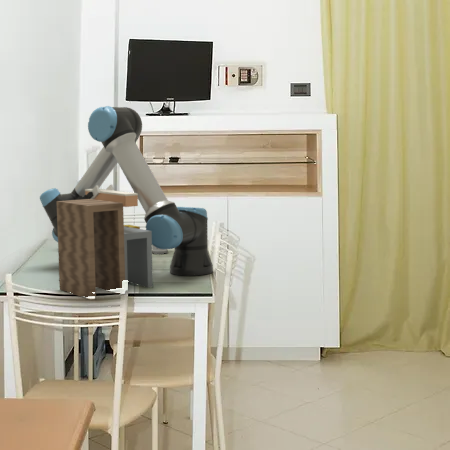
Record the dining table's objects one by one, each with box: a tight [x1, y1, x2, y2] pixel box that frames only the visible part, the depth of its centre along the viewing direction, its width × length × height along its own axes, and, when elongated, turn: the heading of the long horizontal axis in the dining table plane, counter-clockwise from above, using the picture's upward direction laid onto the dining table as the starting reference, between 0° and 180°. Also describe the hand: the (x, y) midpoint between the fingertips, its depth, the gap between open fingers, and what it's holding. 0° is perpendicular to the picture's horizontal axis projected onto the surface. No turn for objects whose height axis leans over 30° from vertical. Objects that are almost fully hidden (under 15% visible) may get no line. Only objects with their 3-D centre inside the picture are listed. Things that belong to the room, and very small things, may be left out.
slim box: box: [85, 188, 139, 208], centre depth 247 cm, size 26×5×4 cm, turn 39°
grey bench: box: [124, 226, 154, 288], centre depth 245 cm, size 18×11×18 cm, turn 39°
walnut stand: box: [57, 199, 125, 297], centre depth 234 cm, size 20×12×28 cm, turn 39°
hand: (105, 188), depth 249 cm, fingers closed on slim box, 5 cm apart
